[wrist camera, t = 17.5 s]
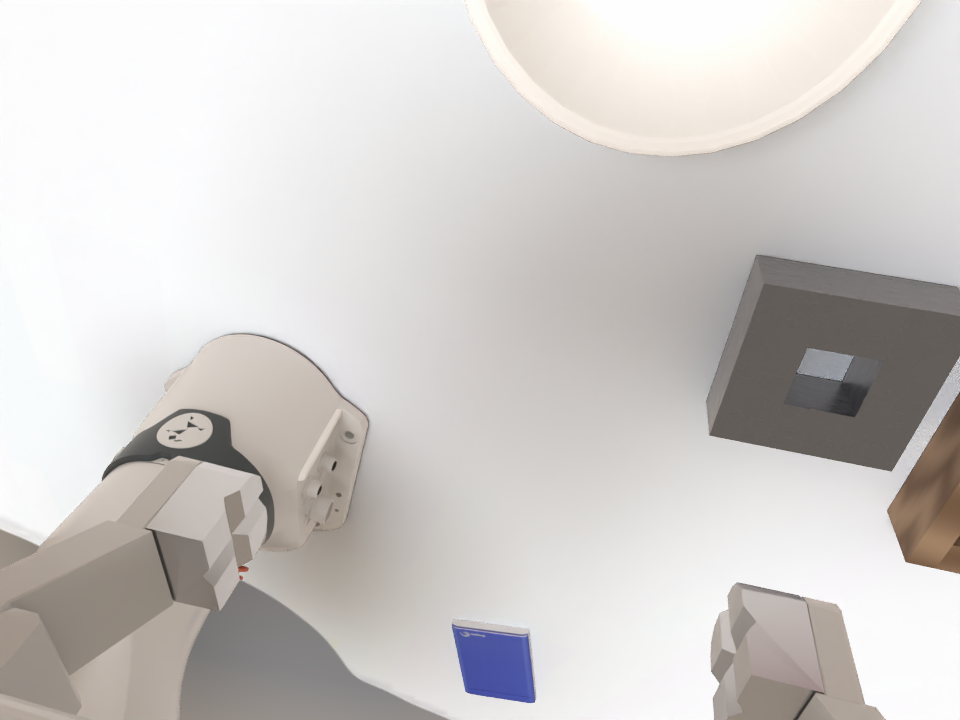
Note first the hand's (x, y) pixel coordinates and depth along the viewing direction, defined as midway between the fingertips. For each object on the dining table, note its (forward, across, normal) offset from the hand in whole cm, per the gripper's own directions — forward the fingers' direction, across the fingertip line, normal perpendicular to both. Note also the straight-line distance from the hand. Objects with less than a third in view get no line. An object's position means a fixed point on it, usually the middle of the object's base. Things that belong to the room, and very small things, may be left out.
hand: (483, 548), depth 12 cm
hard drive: (+36, -2, -61) cm, 70 cm away
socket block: (+35, +17, -15) cm, 42 cm away
